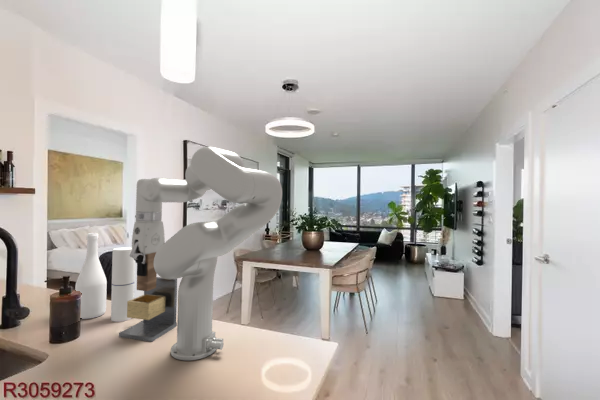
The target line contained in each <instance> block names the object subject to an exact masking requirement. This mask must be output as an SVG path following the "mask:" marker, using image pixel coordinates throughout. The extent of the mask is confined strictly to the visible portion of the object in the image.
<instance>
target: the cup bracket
mask: <svg viewBox="0 0 600 400" xmlns="http://www.w3.org/2000/svg"><path fill="white" fill-rule="evenodd" d="M177 309H178V278H177V279H172V280H168V279H164V278H162V277H160V276H156V288H154V289H152V290H149V291H143V294H142V295H139V296H138V297H134V299H132V300H130V301H127V317H128V318H131V319H136V320H137V319H138V320H142V321H140V322H138V323H136V324H134V325H132V326H130V327H128V328H126V329H123V330H122V331H120V332H118V337H119V338H122V339H131V340H136V341H137V340H138V341H144V342H145V341H146V342H149V343H150V342H152V343H153V342H154V341H156V340H157V339H159V338H160V337H163V336H164V335H165V334H166V333H168V332H170V331H171V330H172V329H174V328H176V327H177Z"/></svg>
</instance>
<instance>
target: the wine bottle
mask: <svg viewBox="0 0 600 400" xmlns="http://www.w3.org/2000/svg"><path fill="white" fill-rule="evenodd" d="M99 236H100V235H99V234H98V232H89V233H87V234H86V240H87V244H86V256H85V259H84V262H83V265H82V266H81V270H80V272H79V275H78V276H77V278H76V281H75V285H74V286H75V288H74V291H75V290H76V291H80V292H81V293H82V297H81V318H82V319H81V320H89V319H95V318H98V317H100V316H102V315H104V314H105V313H106V311H107V284H108V281H107V277H106V274H105V271H104V269H103V266H102V264H101V261H100V259H99V258H100V257H99V253H98V252H99V248H98V247H99V245H98V244H99Z"/></svg>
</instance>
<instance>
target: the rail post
mask: <svg viewBox="0 0 600 400" xmlns="http://www.w3.org/2000/svg"><path fill="white" fill-rule="evenodd" d="M155 254H156V252H155V253H150V254H147V257H146V262H145V263H147V275H146V276H137V275H136V291H142V292H144V291H149V290H152V289H154V288H156V277H158V274H157V273H156V271H155V269H154V257H155ZM142 256H143V255H141V258H142Z"/></svg>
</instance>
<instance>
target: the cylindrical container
mask: <svg viewBox="0 0 600 400" xmlns="http://www.w3.org/2000/svg"><path fill="white" fill-rule="evenodd" d="M131 251H132V246H125V247H123V246H121V247H115V248H112V256H111V257H112V258H111V259H112V262H111V264H112V266H111V296H110V297H111V298H110V299H111V302H110V321H111V322H115V323H116V322H117V323H119V322H125V321H128V320H129V321H130V320H131V319H132V318H128V317H127V301H130V300H132V299H134V298H135V286H136V285H135V281H136V280H135V279H136V276H135V275H136V261H135V260H134V258H132V257H130V253H131Z"/></svg>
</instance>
